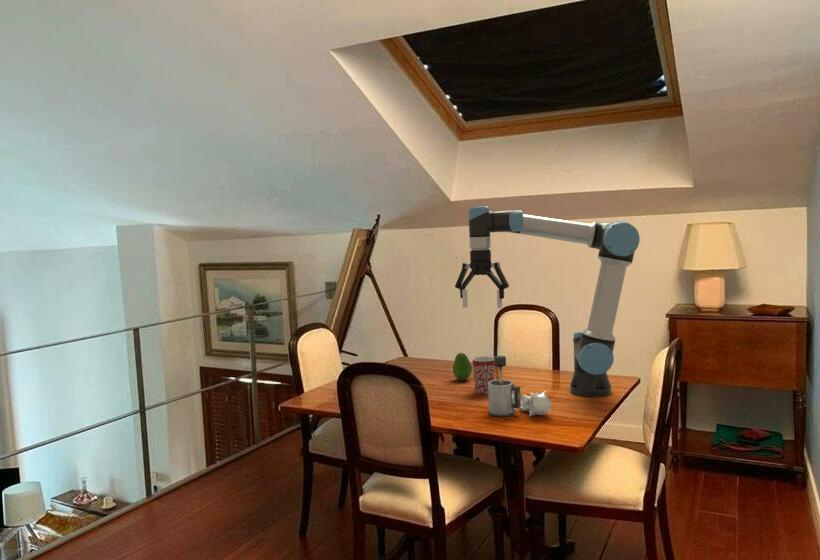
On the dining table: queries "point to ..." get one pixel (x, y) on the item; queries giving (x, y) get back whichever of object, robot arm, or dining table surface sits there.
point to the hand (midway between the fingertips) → (482, 307)
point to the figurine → (536, 403)
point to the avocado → (462, 367)
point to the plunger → (500, 365)
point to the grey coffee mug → (503, 398)
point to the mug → (483, 373)
